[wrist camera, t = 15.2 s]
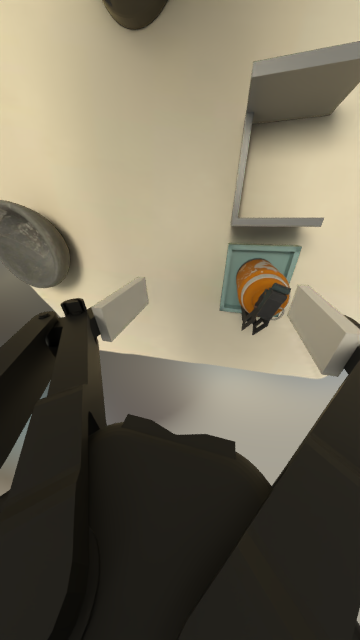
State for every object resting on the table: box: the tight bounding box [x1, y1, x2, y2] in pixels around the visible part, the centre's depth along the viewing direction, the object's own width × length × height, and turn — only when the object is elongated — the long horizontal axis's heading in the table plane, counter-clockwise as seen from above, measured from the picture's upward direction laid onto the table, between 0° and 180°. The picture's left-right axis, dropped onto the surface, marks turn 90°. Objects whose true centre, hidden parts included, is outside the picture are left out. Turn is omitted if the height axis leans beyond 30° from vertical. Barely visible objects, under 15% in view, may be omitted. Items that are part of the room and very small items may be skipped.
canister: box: [236, 258, 291, 335], centre depth 35 cm, size 9×11×20 cm
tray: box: [220, 243, 302, 317], centre depth 42 cm, size 17×15×3 cm
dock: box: [231, 41, 360, 227], centre depth 28 cm, size 17×14×12 cm
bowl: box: [0, 200, 70, 288], centre depth 50 cm, size 23×22×10 cm
